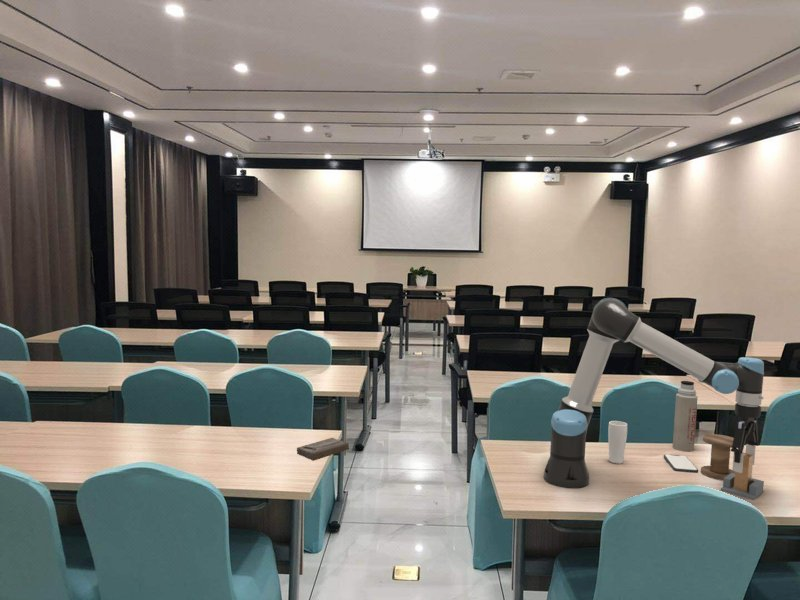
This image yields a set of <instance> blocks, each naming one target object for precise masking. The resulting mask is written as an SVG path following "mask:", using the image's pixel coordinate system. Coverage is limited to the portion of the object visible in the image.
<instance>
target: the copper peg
mask: <svg viewBox="0 0 800 600" xmlns="http://www.w3.org/2000/svg"><path fill="white" fill-rule="evenodd" d="M743 453H744V455H743V468H742V473H739V472H735V478H734V489H736V490H740V491H743V492H748V491H749V486H750V484H751V479H752V478H753V477H752V475H753V474H752V473H753V466H754V465H753V455H752V454H748V453H746V452H744V451H743Z"/></svg>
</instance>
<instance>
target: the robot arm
mask: <svg viewBox="0 0 800 600" xmlns="http://www.w3.org/2000/svg"><path fill="white" fill-rule="evenodd" d="M586 330H587V332H588V335H589V336H588V339H587V341H586V344H585V347H584V350H583V352H582V356H581V358H580V361H579V364H578V366H577V369H576V371H575V375H574V378H573V380H572V383H571V385H570V388H569V392H568V395H567V396H564V397H562V398H561V400H560V404H559V407H558V410H557V411H555V412H553V414H552V416H551V421H550V424H551V425H550V426H551V429H550V448H549V449H550V450H549V458H548V461H547V463H546V465H545V468H544V471H543V479H544V480H545V481H546V482H548V483H549V484H551V485H555V486H558V487H561V488H571V489H573V488H574V489H576V488H577V489H578V488H584V487H586V486H588V485H589V483H590V475H589V471H588V467H587V463H586V459H585V457H586V442H587V441H586V440H587V431H588V427H589V424H590V421H591V418H592V417H593V413H594V408H593V406H592V402H593V400H594V398H595V395H596V392H597V389H598V387H599V384H600V381H601V378H602V376H603V372H604V370H605V367H606V365H607V362H608V360H609V357H610V353H611V351H612V349H613V345H614V344H615V343H618V342H620V341H621V342H623V343H629V342H630V343H631V344H633V345H635V346H637V347H638V348H641V349H643V350H644V351H646V352H647V353H650V354H651V355H654V356H656V357H657V358H659V359H660V360H662V361H665V362H666V363H668V364H670V365H672V366H674V367H675V368H677V369H678V370H681V371H683V372H684V373H687V375H690V376H692V377H694V378H695V379H697V380H698V382H699V383H703V384H706V385H708V386H709V387H711V388H713V389H714V390H715V391H716V392H717V393H720V394H723V395H729V394H732V393H735V402H736V403H735V404H734V414H735V415H736V416H739V417H740V420H738V421H736V422H735V431H734V435H733V438H734V440H733V445H732V448H730V452H731V453H732V452H733V456H732V457H733V459H732V460H733V461H732V470H733V471H735V472H739V473H742V468H743V455H744V453H748V454H752V455H753V466H754V465H755V461H756V447H757V446H759V445H760V444H759V432H758V419H759V418H760V417H761V414H762V407H761V405H762V400H764V399H765V398H764V396H763V395H762V394H763V386H764V385H763V384H764V375H765V371H764V370H765V363H764V361H763V360H762V359H760V358H755V357H744V356H743V357H742V356H741V357H739V358H738V361H737V362H723V361H715V360H712V359H711V358H709V357H708V356H705V355H704V354H702V353H699V351H698V352H697V351H696V350H695V349H692V348H691V347H689V346H687V345H685V344H683V343H681V342H679V341H678V340H676V339H673V338H672V337H670V336H668V335H666V334H665V333H663V332H661V331H659V330H657V329H655V328H653V327H652V326H650V325H648V324H646V323H644V322H642V319H641V317H640V316H638V315H636V314H635V313H633V312H632V311H630V310H629V309H628V307H627V306H626V304H625V303H624V302H623V301H622V300H620V299H617V298H613V297H606V298H605V297H604V298H603V299H601V300H599V301H598V302H596V304H595V305H594V307H593V310H592V314H591V317H590V320H589V322H588V326H587V329H586ZM746 441H747V443H746ZM744 448H745V452H744ZM743 452H744V453H743Z"/></svg>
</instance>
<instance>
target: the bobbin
mask: <svg viewBox="0 0 800 600" xmlns="http://www.w3.org/2000/svg"><path fill="white" fill-rule="evenodd" d="M733 440H734V436H730V435H729V436H728V435H724V434H716V433H712V434H711V433H709V434H703V435H702V441H703V442H704V443H705V444H708V445H711V450H710V462H709V463H710V465H703V466H701V467H700V473H701V474H702V475H703V476H705V477H707V478H710V479H712V480H713V479H714V480H717V481H718V480H719V481H723V479H724V478H725V477H726V476H728V475H729V474H731V473H734V474H735V471H733V469H730V458H731V449H732V445H733Z"/></svg>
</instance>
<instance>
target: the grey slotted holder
mask: <svg viewBox="0 0 800 600" xmlns="http://www.w3.org/2000/svg"><path fill="white" fill-rule="evenodd" d="M734 478H735V474H734V473H731V474H729V475H728V476H726V477H725V478H724V479H723V480H722V487H720V492H721V491H722V492H724V493H728V494H731V495H735V496H738V497H742V498H746V499H750V500H755V499H757V497H759V496H760V495H761V494H763V493H764V488H765V487H764V486H765V481H764V480H761V479H757V478H754V477H752V479H751V484H750V486H749V491H748V492H743V491H740V490H736V489H734Z"/></svg>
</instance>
